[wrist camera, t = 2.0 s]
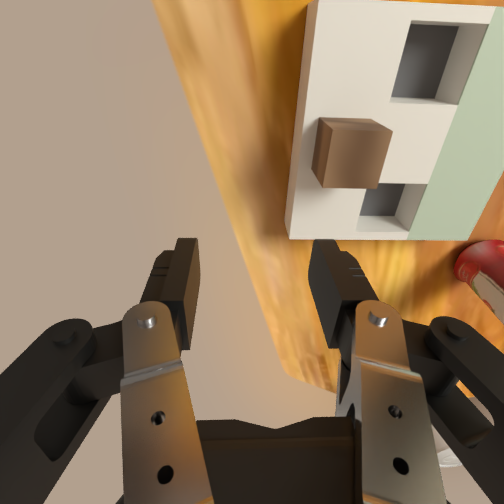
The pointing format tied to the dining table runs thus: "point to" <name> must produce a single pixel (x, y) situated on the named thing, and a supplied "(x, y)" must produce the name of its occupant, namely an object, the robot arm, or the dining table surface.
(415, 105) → the trap plank
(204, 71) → the dining table surface
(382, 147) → the walnut block
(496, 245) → the liquor
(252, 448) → the robot arm
